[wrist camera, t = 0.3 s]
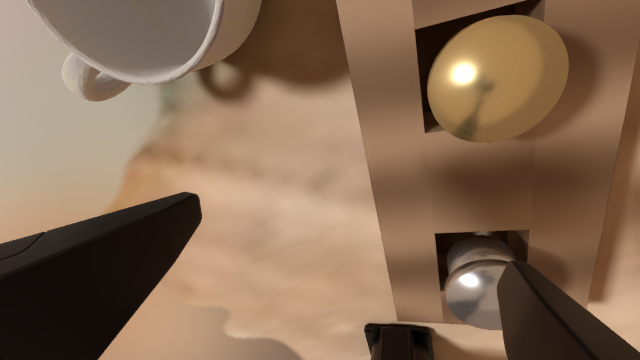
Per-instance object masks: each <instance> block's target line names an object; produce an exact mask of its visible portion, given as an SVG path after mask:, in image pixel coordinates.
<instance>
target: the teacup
mask: <svg viewBox="0 0 640 360" xmlns="http://www.w3.org/2000/svg"><path fill="white" fill-rule="evenodd" d="M25 2H26V3H27V4H28V6H29V7H30V8H31V10H32V11H33V12H34V14H35V15H36V16H37V17H38V19H39V20H40V21H41V22H42V23H43V24H44V25H45V26H46V28H47V29H48V30H49V31H50V32H51V33H52V34H53V35H54V36H55V37H56V38H57V39H58V41H59V42H61V43H62V44H63V45H64V46H65V47H66V48H67V49H69V50H70V51H71V53H70V54H69V55H68V57H67V59H66V60H65V62H64V65H63V68H62V74H61V75H62V78H63V80H64V82H65V84H66V86H67V87H68V88H69V89H70V90H71V91H73V92H74V93H75V94H77V95H79V96H80V97H81V98H83V99H87V100H89V101H103V100H107V99H109V98H112V97H114V96H116V95H118V94H119V93H121V92H122V91H124V90H125V89H126V88H127V87H128V86H130V85H131V84H132V83H135V84H141V85H158V84H164V83H167V82H170V81H173V80H176V79H178V78H181V77H183V76H184V75H186V74H187V73H190V72H193V71H196V70H199V69H202V68H204V67H207V66H210V65H212V64H214V63H216V62H218V61H220V60H222V59H224V58H226V57H227V56H229V55H230V54H232V53H233V52H234V51H235V50H237V49H238V48H239V47H240V46H241V44H242V43H243V42H244V41H245V40H246V38H247V37H248V35H249V34H250V32H251V31H252V29H253V27H254V24H255V22H256V20H257V17H258V14H259V11H260V7H261V2H262V0H25ZM100 72H102V73H100ZM99 73H100V74H99ZM98 74H99V75H98Z"/></svg>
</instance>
